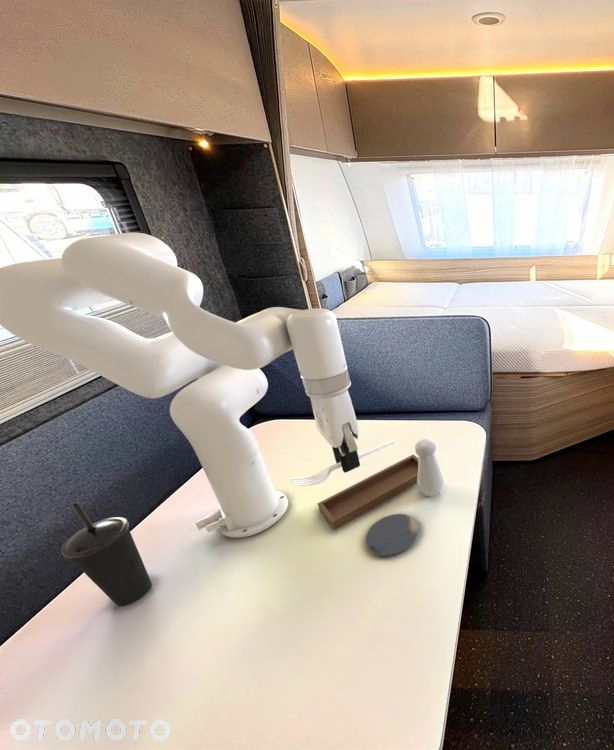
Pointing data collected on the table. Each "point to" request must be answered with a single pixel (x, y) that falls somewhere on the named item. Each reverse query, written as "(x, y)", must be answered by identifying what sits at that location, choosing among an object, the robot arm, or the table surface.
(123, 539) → the drinking cup
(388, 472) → the cutlery tray
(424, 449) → the salt shaker
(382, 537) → the coaster
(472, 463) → the table surface
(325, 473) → the fork
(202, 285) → the robot arm
